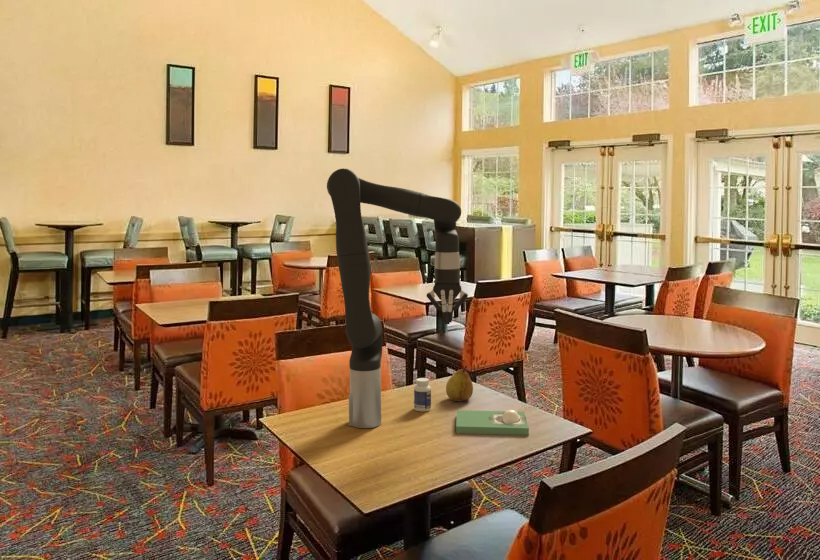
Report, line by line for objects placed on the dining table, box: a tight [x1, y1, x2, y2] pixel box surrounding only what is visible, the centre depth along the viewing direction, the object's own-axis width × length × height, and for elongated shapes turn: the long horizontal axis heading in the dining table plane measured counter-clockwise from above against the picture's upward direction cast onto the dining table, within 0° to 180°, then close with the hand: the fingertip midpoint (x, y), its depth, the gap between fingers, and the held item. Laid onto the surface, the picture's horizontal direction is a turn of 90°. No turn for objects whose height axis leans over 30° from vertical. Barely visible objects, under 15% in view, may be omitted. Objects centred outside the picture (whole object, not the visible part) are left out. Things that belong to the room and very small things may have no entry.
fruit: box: [445, 365, 474, 402], centre depth 210 cm, size 9×9×12 cm
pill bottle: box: [413, 377, 432, 413], centre depth 200 cm, size 5×5×10 cm
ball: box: [503, 409, 519, 424], centre depth 185 cm, size 5×5×5 cm
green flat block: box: [455, 409, 530, 436], centre depth 186 cm, size 21×14×2 cm
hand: (447, 323), depth 191 cm, fingers closed
